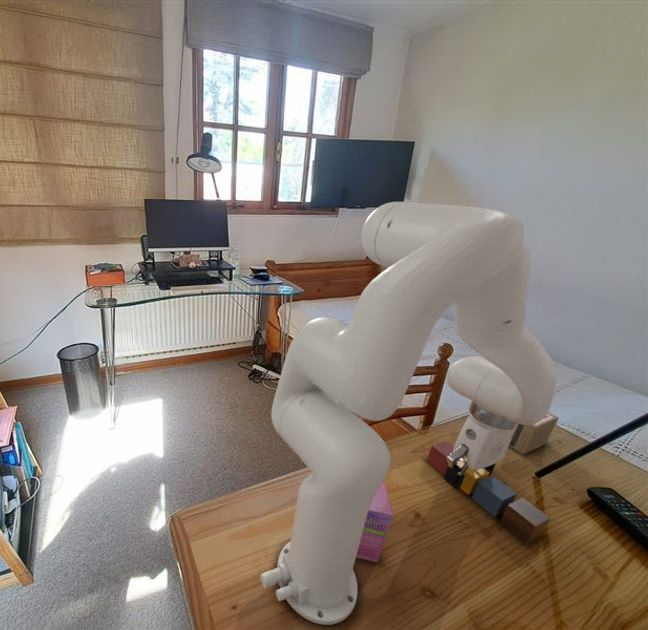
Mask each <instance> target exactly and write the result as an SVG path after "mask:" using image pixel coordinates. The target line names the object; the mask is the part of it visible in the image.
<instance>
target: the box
mask: <svg viewBox="0 0 648 630" xmlns="http://www.w3.org/2000/svg"><path fill="white" fill-rule="evenodd" d="M393 519H394V513H393V509H392V505H391V501H390V499H389V494H388V490H387V486H386V484H385V480H384V481H383V483H382V484H381V486H380V488H379V489H378V491H377V493H376V495H375V496H374V498H373V501H372V503H371V505H370V508H369V511H368V514H367V517H366V521H365V524H364V529H363V533H362V536H361V540H360V544H359V547H358V551H357V555H356V559H359V560H364V561H369V562H374V563H378V562H379V559H380V556H381V553H382V551H383V547H384V544H385V541H386V539H387V535H388V533H389V530H390V527H391V524H392V521H393Z"/></svg>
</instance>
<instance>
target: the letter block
mask: <svg viewBox="0 0 648 630" xmlns="http://www.w3.org/2000/svg"><path fill="white" fill-rule="evenodd" d="M463 459H464V460H466V461H467V457H464V458H463ZM464 464H465V463H463V462H462V461H461V460H460V461H457V465H458V466H459V467H460V469H461V467H462V466H463V465H464ZM464 475H465V477H464V480H463V482H462V485H461V487H460V490H461V491H463V492H464V493H465V494H466V495H468V496H469V495H473V494H474V492H475V489H476V487H477V485H478V482H480V481H482V480H485V479H487V478H489V477H488V475H489V472H488V471H486V470H485V469H484V468H482V469H480V470H472V469H471V468H470V467H469V468H468V469H467V470H466V471H465V473H464Z"/></svg>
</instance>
